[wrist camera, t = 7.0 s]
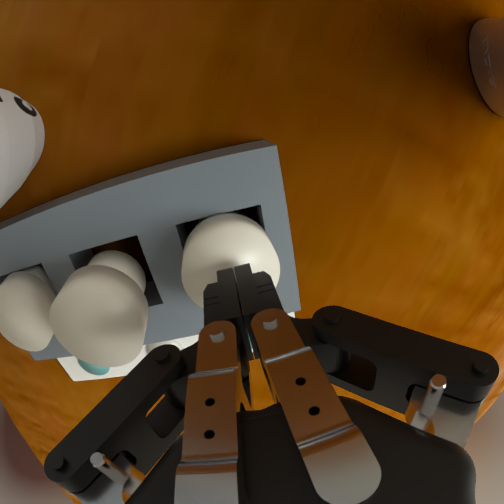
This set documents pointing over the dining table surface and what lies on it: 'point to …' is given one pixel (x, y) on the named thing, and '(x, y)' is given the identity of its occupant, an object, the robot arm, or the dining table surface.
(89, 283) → the button
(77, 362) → the strip
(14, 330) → the button
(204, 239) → the button
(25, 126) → the cup
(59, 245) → the board
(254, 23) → the dining table surface
